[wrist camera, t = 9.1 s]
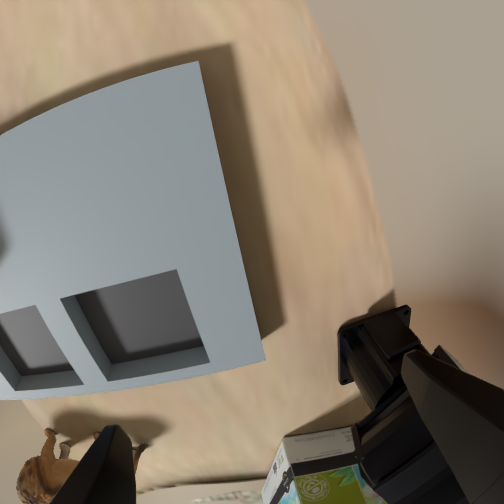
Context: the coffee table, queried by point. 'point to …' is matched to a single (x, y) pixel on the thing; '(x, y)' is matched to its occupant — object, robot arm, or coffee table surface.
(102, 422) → the coffee table surface
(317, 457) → the tea box
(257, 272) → the coffee table surface
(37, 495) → the lion figurine
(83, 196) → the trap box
